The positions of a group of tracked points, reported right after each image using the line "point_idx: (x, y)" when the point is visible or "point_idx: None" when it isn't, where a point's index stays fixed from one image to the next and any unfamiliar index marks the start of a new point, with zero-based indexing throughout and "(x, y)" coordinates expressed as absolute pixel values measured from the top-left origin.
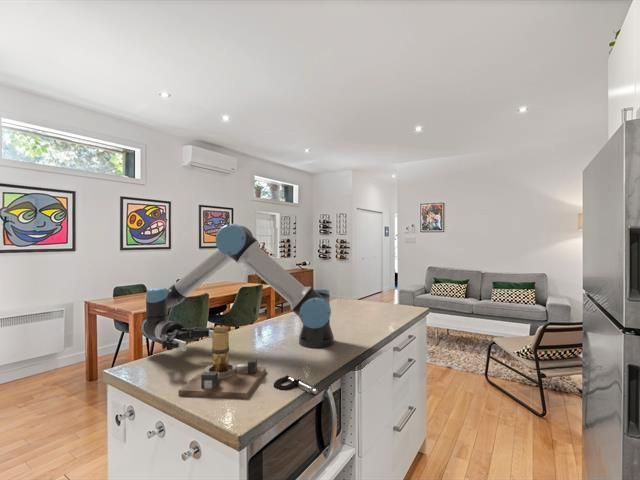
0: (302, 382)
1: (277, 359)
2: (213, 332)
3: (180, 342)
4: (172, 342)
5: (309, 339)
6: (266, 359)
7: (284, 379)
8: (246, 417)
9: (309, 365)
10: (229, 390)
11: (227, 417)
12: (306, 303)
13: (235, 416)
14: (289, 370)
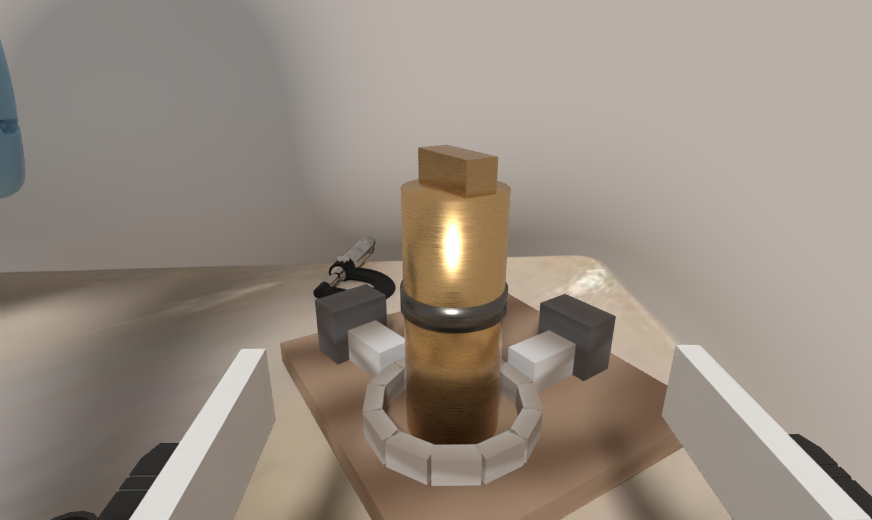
0: (353, 251)
1: (86, 407)
2: (491, 196)
3: (737, 394)
4: (861, 501)
5: None
6: (89, 445)
7: (341, 288)
8: (549, 269)
9: (161, 308)
10: (526, 313)
11: (586, 284)
12: (2, 49)
13: (568, 279)
14: (235, 323)
